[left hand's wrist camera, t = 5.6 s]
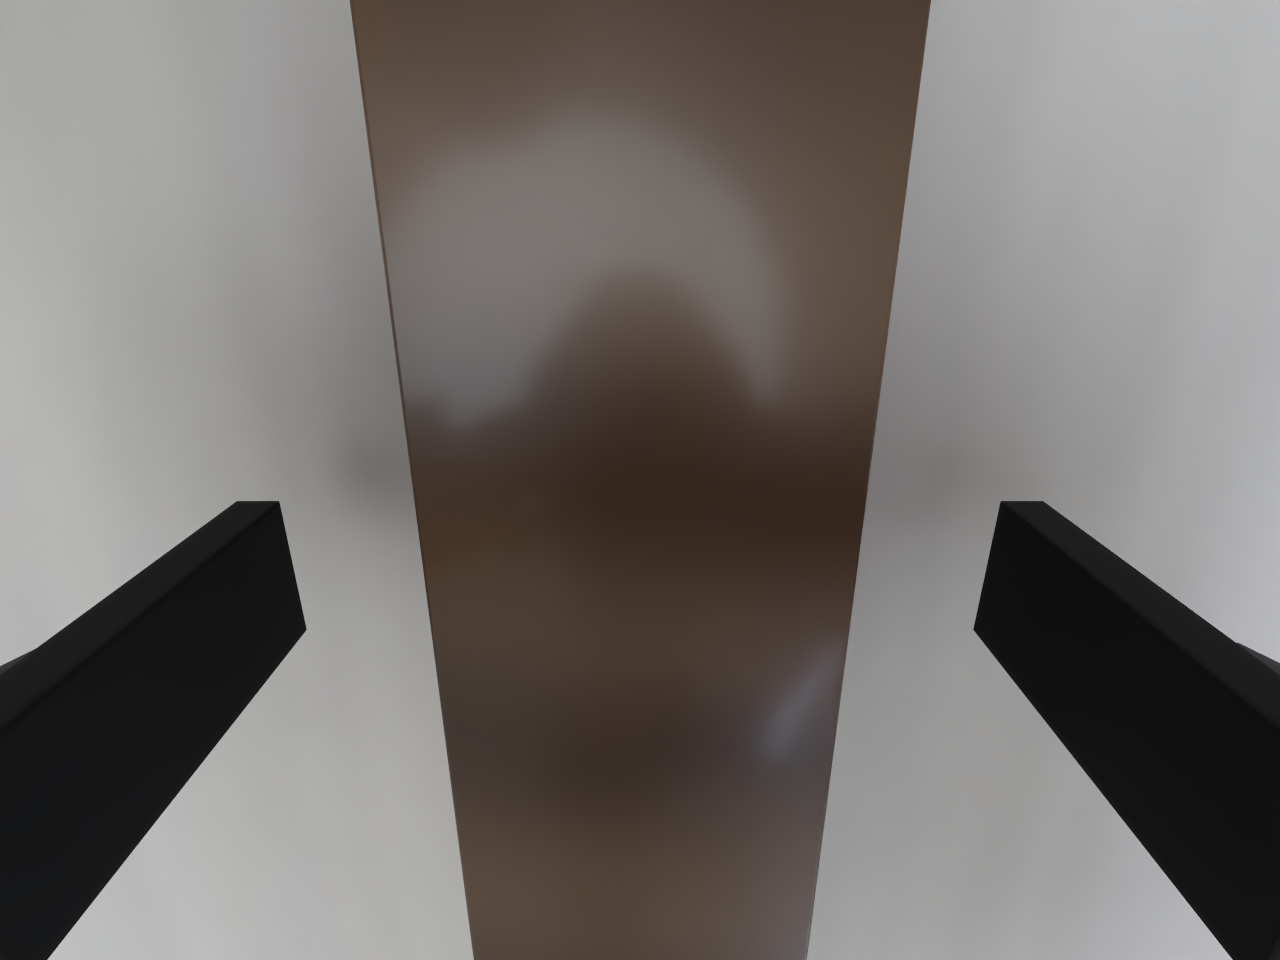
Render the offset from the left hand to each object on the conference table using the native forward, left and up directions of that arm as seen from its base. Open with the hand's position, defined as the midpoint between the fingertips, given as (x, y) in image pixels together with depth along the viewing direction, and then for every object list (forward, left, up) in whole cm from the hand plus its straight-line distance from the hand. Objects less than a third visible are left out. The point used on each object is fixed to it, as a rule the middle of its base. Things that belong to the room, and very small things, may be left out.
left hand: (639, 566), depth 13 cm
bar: (+14, -15, -4) cm, 21 cm away
